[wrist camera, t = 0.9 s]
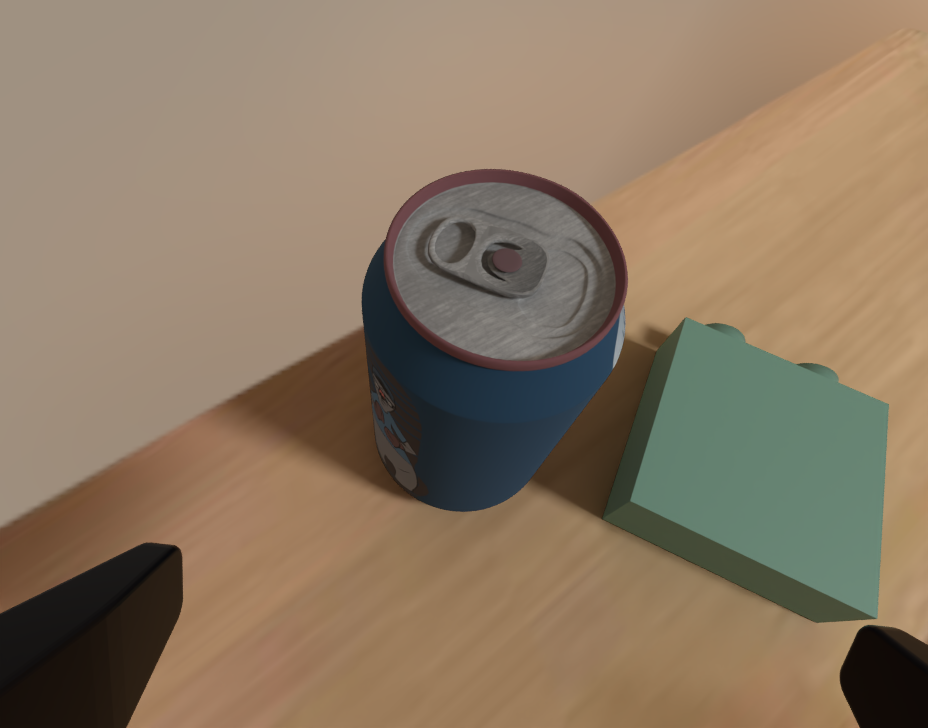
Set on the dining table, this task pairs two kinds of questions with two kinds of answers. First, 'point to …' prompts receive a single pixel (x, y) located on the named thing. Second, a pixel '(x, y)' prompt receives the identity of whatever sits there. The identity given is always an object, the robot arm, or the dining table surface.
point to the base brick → (758, 473)
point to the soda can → (488, 332)
